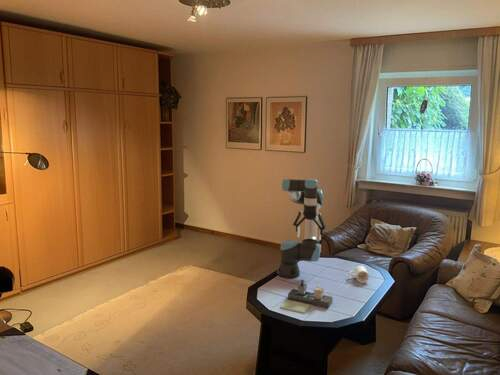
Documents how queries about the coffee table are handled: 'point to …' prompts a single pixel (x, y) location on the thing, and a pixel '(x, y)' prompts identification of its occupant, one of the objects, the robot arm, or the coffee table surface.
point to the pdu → (308, 297)
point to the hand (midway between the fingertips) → (308, 238)
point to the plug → (318, 293)
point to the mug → (360, 274)
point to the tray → (295, 306)
